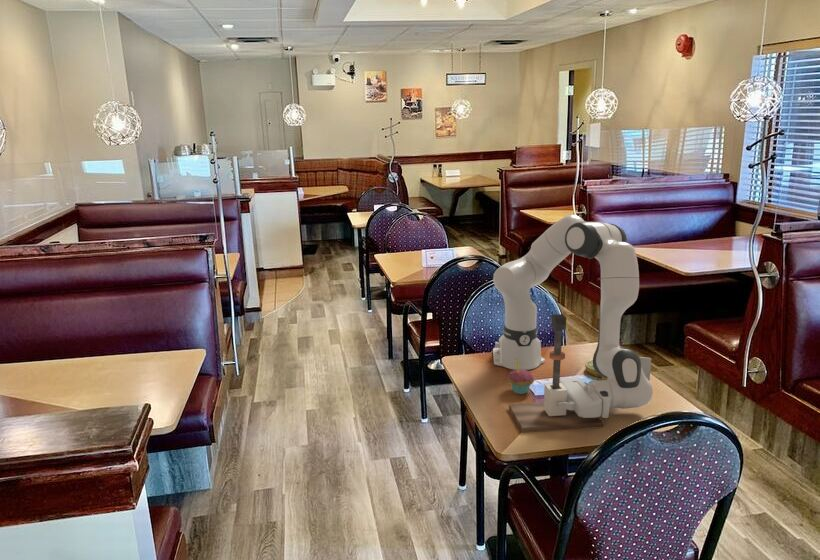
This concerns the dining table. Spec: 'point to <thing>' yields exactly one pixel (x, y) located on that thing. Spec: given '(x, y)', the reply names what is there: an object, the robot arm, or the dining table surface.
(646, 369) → the grey rectangular block
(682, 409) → the dining table surface
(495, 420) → the dining table surface
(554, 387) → the post stand
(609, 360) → the robot arm
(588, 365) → the decorated donut
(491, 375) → the dining table surface
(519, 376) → the cupcake
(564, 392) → the sleeve
